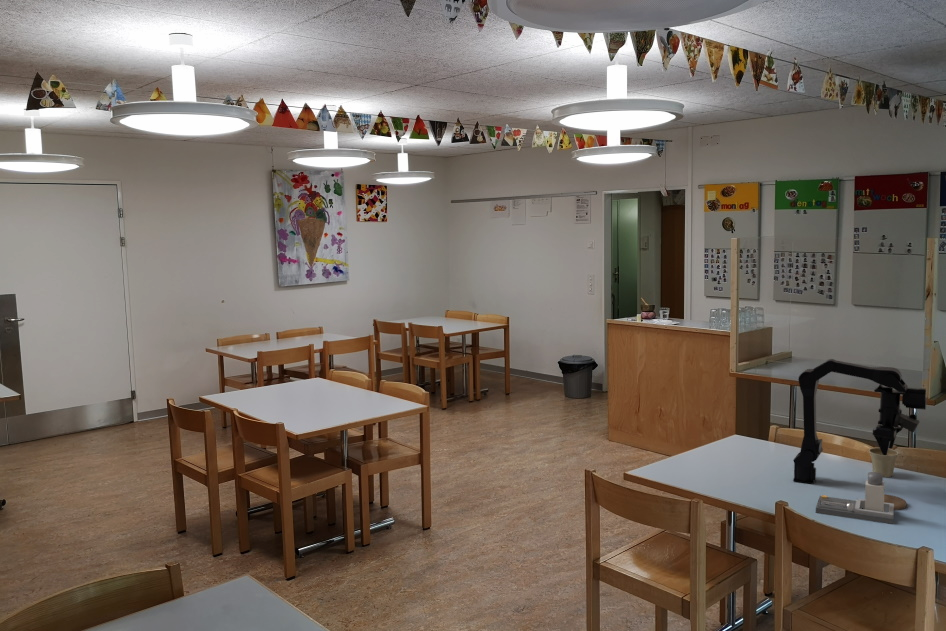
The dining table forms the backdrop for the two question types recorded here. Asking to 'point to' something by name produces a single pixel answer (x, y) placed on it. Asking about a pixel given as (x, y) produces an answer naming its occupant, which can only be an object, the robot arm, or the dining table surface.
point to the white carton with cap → (874, 492)
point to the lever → (837, 504)
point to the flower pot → (883, 461)
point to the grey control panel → (856, 510)
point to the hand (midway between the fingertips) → (887, 451)
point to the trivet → (895, 501)
